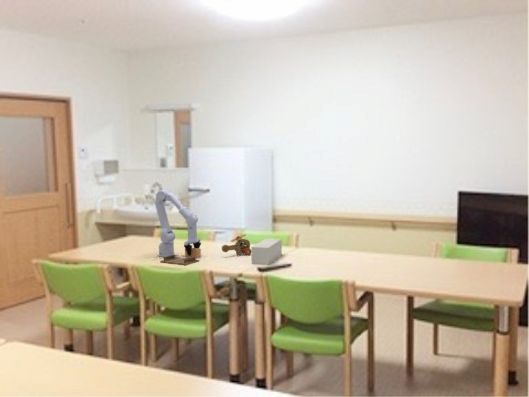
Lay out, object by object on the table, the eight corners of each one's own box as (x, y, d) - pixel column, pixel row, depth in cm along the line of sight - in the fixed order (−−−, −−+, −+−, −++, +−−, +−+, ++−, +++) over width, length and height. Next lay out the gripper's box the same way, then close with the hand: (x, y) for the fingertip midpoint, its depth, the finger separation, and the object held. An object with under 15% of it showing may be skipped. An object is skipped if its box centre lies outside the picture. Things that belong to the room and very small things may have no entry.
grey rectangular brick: (266, 254, 376) (266, 238, 375) (281, 255, 373) (281, 238, 372) (251, 264, 346) (251, 246, 345) (268, 265, 343) (268, 247, 342)
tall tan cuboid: (185, 257, 368) (184, 248, 368) (188, 256, 371) (188, 247, 371) (197, 258, 363) (197, 249, 363) (200, 257, 366) (200, 248, 366)
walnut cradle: (160, 262, 353) (159, 257, 353) (174, 258, 365) (174, 253, 365) (185, 265, 343) (185, 260, 343) (199, 261, 355) (199, 256, 355)
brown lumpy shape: (253, 254, 373) (252, 234, 372) (225, 258, 362) (225, 237, 361) (246, 253, 380) (246, 232, 379) (219, 256, 369) (218, 235, 367)
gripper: (190, 235, 358) (191, 257, 359) (203, 232, 370) (204, 253, 372) (181, 235, 361) (182, 256, 363) (195, 231, 374) (195, 252, 375)
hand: (192, 254), depth 367 cm, fingers open, 7 cm apart
